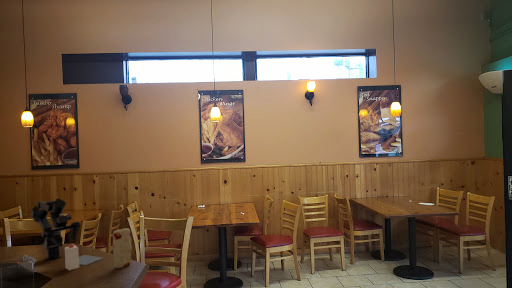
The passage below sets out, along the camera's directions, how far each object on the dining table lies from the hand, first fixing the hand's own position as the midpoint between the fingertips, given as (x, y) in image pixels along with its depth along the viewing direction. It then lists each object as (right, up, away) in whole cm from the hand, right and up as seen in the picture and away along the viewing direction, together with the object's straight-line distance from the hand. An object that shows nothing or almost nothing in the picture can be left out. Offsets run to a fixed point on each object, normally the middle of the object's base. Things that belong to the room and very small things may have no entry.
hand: (66, 241), depth 201 cm
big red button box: (+6, -13, -5) cm, 15 cm away
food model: (+33, -12, -6) cm, 36 cm away
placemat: (+7, -12, +7) cm, 16 cm away
